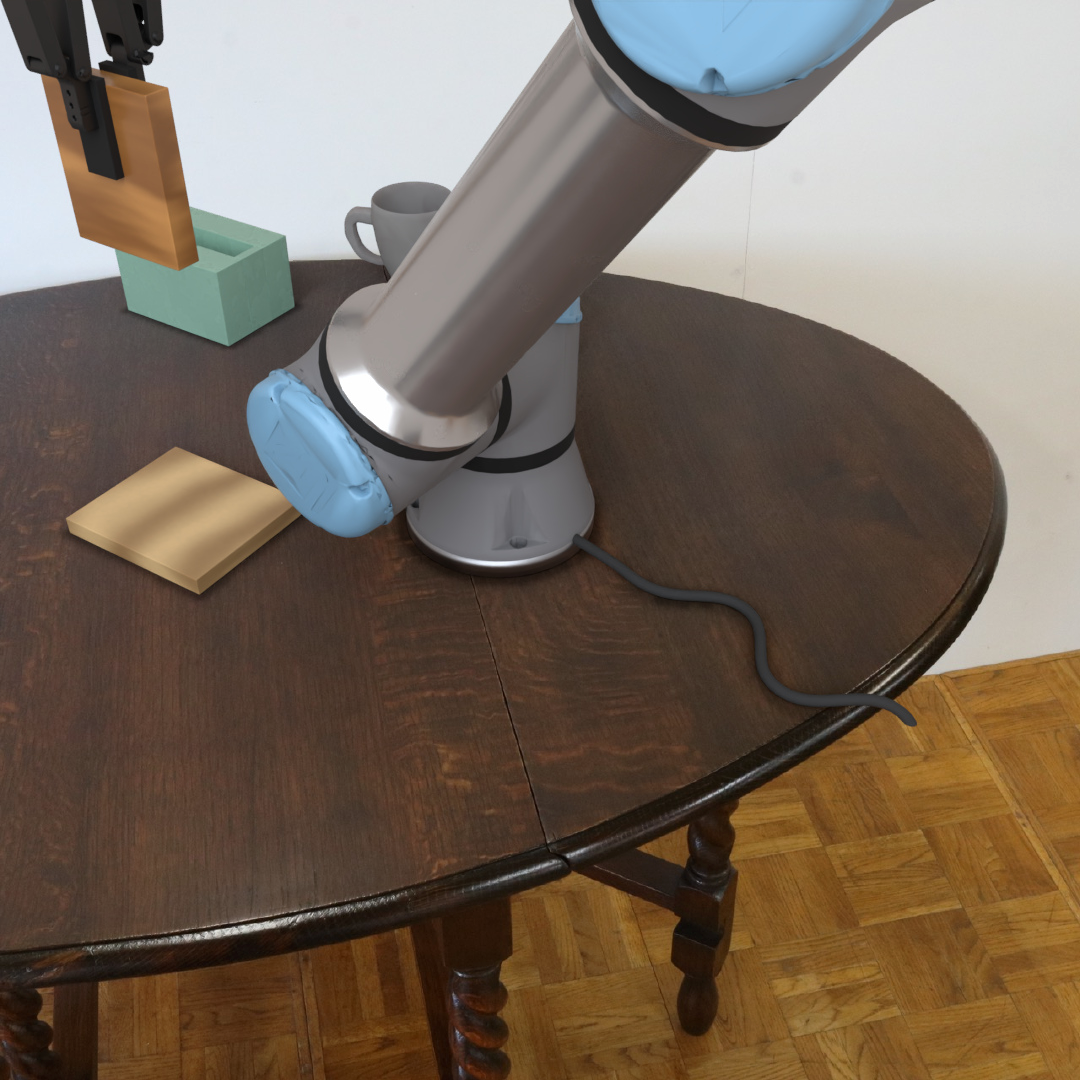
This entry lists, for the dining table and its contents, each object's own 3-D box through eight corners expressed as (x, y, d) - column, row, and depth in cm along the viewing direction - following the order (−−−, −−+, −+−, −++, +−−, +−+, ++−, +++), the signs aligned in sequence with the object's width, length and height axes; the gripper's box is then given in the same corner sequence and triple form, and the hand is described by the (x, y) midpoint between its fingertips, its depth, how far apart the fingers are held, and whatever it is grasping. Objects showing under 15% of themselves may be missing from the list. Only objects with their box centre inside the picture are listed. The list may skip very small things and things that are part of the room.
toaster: (186, 270, 131) (173, 201, 126) (294, 306, 125) (285, 235, 120) (117, 306, 124) (100, 234, 119) (228, 346, 118) (216, 272, 113)
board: (303, 513, 97) (301, 498, 96) (199, 595, 89) (196, 580, 88) (178, 460, 103) (175, 445, 102) (69, 533, 95) (65, 518, 94)
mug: (464, 266, 133) (461, 183, 127) (450, 303, 126) (447, 217, 120) (359, 259, 134) (351, 176, 128) (339, 295, 127) (331, 210, 121)
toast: (101, 227, 87) (62, 59, 80) (199, 261, 83) (168, 86, 76) (79, 237, 86) (38, 66, 78) (178, 271, 82) (145, 95, 74)
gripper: (92, -259, 73) (163, 125, 87) (-129, -237, 63) (-7, 192, 77) (181, -250, 70) (239, 146, 84) (-37, -226, 60) (72, 218, 74)
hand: (121, 167), depth 81 cm, fingers closed on toast, 2 cm apart
